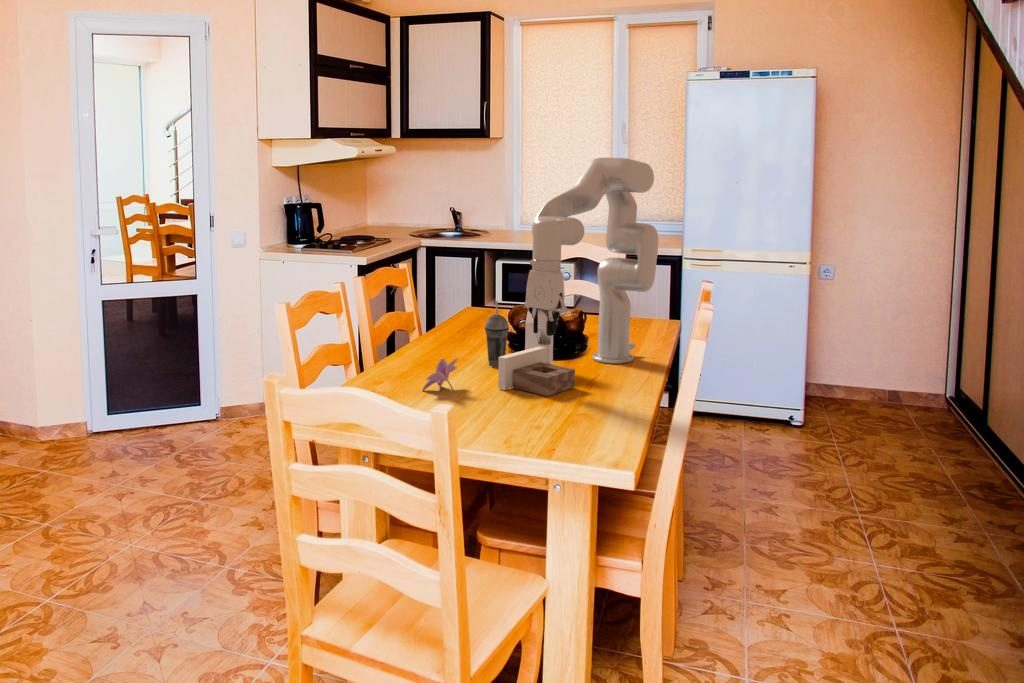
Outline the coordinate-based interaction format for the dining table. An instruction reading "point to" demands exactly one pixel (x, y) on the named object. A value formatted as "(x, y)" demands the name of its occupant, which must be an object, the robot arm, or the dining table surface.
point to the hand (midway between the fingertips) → (544, 333)
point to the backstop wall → (518, 364)
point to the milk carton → (535, 338)
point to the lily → (441, 373)
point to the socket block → (543, 378)
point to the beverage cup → (496, 337)
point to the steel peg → (543, 328)
